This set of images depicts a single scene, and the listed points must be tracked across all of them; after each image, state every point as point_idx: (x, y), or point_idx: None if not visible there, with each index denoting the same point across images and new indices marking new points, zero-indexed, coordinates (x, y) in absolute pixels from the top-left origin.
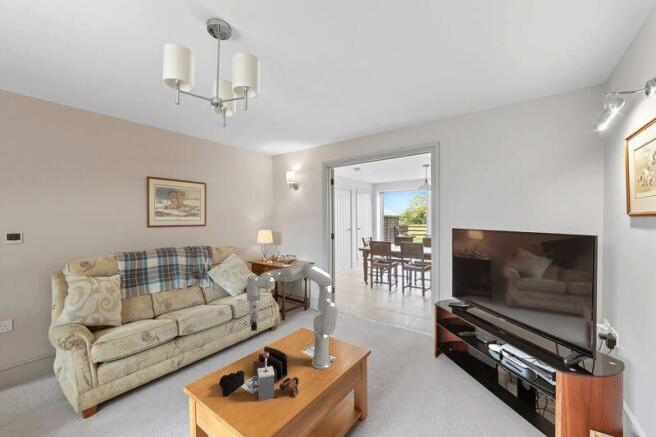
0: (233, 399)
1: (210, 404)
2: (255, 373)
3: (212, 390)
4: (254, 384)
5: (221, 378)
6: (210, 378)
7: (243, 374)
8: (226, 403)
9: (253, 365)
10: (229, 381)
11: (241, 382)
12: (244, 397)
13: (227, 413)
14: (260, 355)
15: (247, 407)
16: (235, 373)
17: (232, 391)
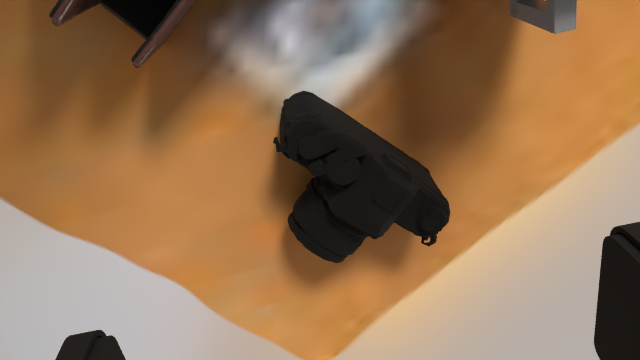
0: (467, 126)
1: (478, 236)
2: (177, 23)
3: (349, 262)
4: (543, 2)
5: (341, 257)
6: (220, 307)
7: (323, 120)
8: (494, 157)
9: (148, 57)
10: (427, 201)
11: (336, 113)
12: (465, 60)
13: (585, 131)
14: (71, 5)
15: None
16: (386, 186)
17: (400, 150)
